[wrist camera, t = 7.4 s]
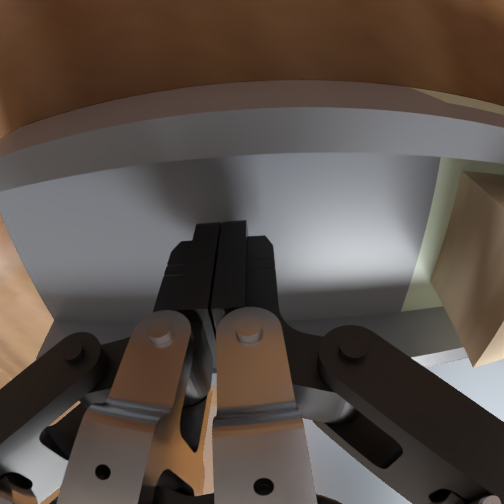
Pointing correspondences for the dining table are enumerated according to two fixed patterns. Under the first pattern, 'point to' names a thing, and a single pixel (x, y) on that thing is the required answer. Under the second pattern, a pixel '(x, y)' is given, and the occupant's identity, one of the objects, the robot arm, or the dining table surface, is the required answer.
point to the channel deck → (251, 200)
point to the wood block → (475, 266)
